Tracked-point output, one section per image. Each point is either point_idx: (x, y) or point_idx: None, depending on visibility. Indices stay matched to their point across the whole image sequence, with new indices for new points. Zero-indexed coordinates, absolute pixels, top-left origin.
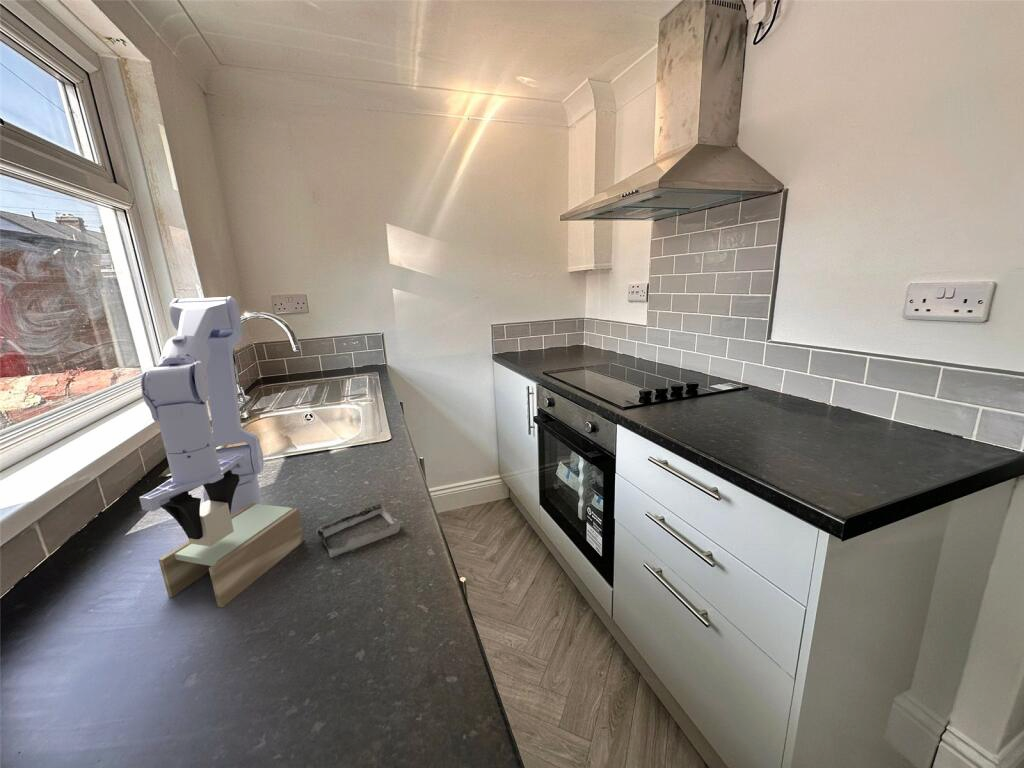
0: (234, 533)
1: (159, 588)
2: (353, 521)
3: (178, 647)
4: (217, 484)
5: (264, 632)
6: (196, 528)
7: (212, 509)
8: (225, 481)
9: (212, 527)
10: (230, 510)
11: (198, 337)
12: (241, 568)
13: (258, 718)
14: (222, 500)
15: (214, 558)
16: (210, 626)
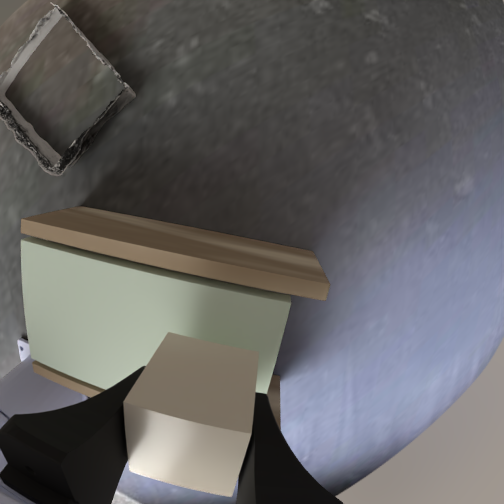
0: (149, 341)
1: None
2: (24, 124)
3: (408, 262)
4: (86, 490)
5: (376, 111)
6: (274, 420)
7: (186, 432)
8: (64, 474)
9: (229, 383)
10: (125, 380)
11: None
12: (245, 251)
13: (492, 55)
14: (118, 428)
15: (276, 318)
16: (363, 238)
